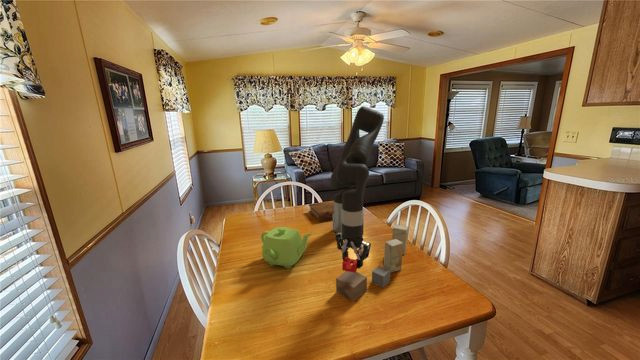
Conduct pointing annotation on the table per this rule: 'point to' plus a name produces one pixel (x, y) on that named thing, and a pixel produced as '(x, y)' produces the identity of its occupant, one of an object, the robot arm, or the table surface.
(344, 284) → the walnut block
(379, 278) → the grey block
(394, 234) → the beige stone tall block
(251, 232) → the table surface
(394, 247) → the skincare box
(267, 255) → the teapot
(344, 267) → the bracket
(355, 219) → the robot arm
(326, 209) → the diary
